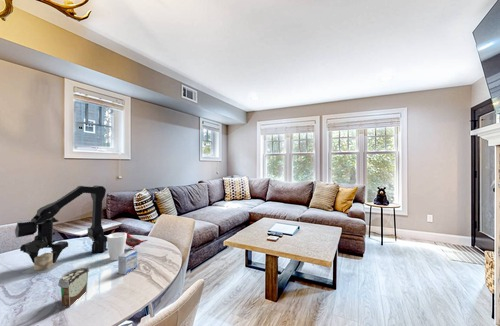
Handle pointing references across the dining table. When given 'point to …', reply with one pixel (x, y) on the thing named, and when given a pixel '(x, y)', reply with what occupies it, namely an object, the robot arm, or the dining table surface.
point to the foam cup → (116, 245)
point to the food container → (73, 285)
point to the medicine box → (127, 262)
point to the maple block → (43, 261)
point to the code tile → (45, 269)
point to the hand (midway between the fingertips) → (44, 263)
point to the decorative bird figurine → (133, 241)
